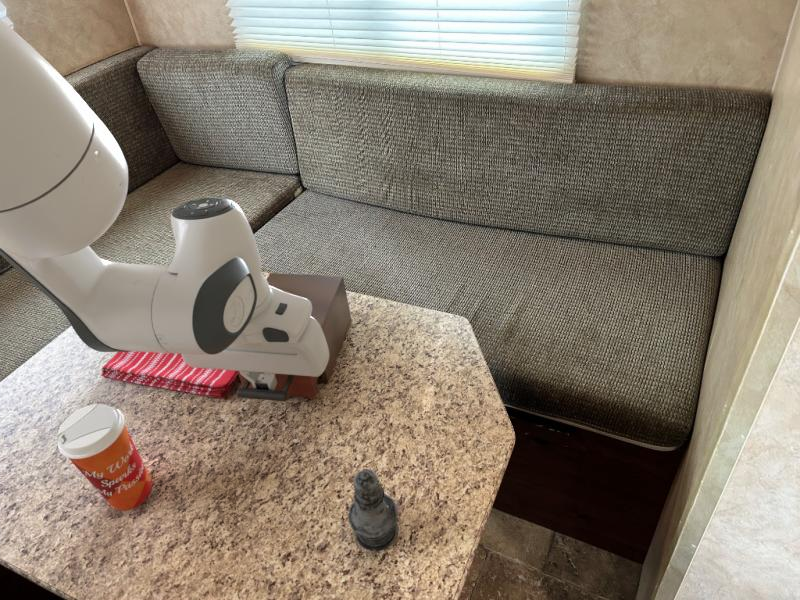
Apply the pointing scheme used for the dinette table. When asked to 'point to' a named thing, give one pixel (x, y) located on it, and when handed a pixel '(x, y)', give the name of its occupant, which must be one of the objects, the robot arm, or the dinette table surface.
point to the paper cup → (105, 455)
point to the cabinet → (321, 307)
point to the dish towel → (169, 373)
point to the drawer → (281, 388)
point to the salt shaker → (372, 513)
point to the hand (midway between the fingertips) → (266, 386)
